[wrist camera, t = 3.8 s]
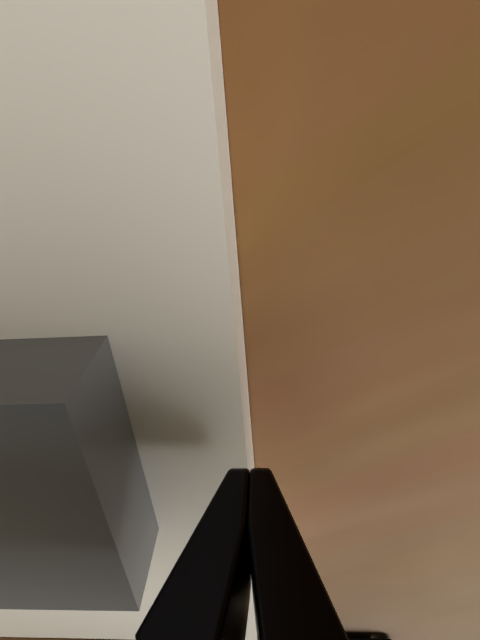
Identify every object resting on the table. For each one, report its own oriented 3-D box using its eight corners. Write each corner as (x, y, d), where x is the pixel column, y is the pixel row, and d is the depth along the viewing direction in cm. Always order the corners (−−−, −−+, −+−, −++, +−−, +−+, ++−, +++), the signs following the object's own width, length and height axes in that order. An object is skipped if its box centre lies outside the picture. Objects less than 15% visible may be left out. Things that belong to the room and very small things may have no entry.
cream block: (263, 579, 15) (263, 642, 14) (-40, 577, 16) (-76, 634, 15) (212, -49, 7) (196, -98, 5) (-429, 22, 8) (-633, 2, 6)
